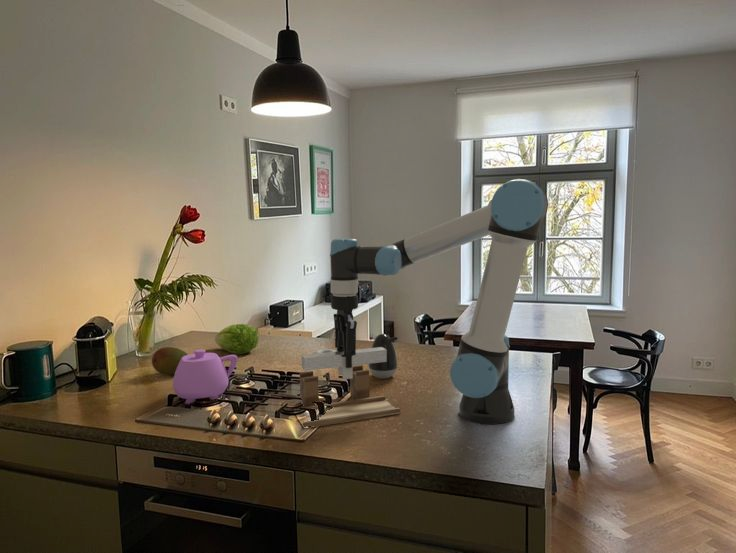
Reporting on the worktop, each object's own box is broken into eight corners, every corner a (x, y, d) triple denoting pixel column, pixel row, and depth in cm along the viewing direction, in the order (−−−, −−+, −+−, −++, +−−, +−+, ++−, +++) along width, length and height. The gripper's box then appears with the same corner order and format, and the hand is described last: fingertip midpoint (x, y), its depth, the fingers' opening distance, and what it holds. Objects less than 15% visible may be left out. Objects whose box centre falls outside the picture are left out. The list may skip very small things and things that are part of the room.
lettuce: (232, 331, 235) (209, 319, 225) (267, 330, 222) (244, 318, 213) (223, 358, 230) (199, 347, 220) (258, 359, 217) (234, 348, 207)
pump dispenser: (396, 381, 178) (395, 337, 176) (365, 380, 180) (365, 336, 178) (400, 373, 188) (399, 331, 186) (371, 371, 190) (371, 330, 188)
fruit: (148, 374, 190) (146, 347, 189) (181, 366, 199) (180, 341, 198) (162, 380, 182) (160, 352, 181) (196, 373, 191) (194, 346, 190)
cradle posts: (369, 399, 160) (369, 370, 159) (305, 409, 153) (304, 378, 152) (362, 393, 166) (361, 365, 165) (300, 402, 159) (299, 372, 158)
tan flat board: (400, 413, 149) (400, 408, 149) (303, 428, 139) (303, 423, 139) (383, 399, 160) (383, 395, 160) (293, 413, 150) (293, 408, 150)
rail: (386, 361, 151) (386, 349, 150) (304, 370, 142) (304, 358, 142) (381, 358, 154) (381, 346, 153) (301, 367, 145) (301, 354, 145)
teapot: (234, 381, 180) (232, 338, 179) (242, 400, 162) (240, 352, 160) (173, 389, 173) (170, 344, 171) (174, 409, 155) (171, 359, 153)
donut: (334, 355, 215) (310, 357, 211) (334, 347, 214) (310, 349, 211) (341, 361, 205) (316, 363, 202) (341, 352, 205) (316, 354, 201)
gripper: (367, 297, 139) (368, 383, 142) (347, 289, 155) (348, 367, 157) (340, 299, 137) (341, 386, 139) (323, 291, 152) (324, 369, 155)
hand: (345, 376), depth 148 cm, fingers closed on rail, 3 cm apart
